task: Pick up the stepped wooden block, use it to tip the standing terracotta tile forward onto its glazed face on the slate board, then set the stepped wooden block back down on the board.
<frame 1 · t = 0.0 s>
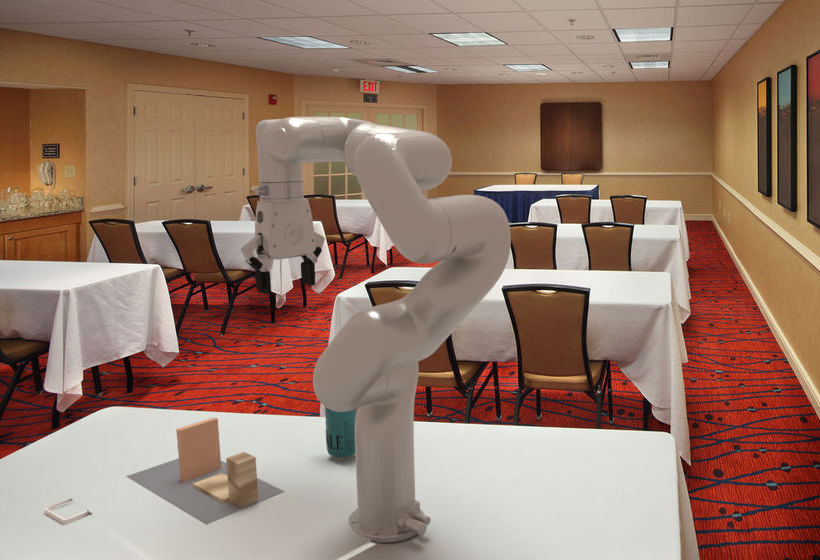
hand: (286, 288, 140), 37 cm above the table, tool pointing down, fingers open, 9 cm apart
stepped wooden block: (243, 500, 138), point 1 cm above the table, touching slate board
slate board: (203, 488, 145), on the table
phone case: (95, 506, 141), on the table
beverage bottle: (342, 459, 157), on the table
tile: (201, 474, 149), point 1 cm above the table, touching slate board
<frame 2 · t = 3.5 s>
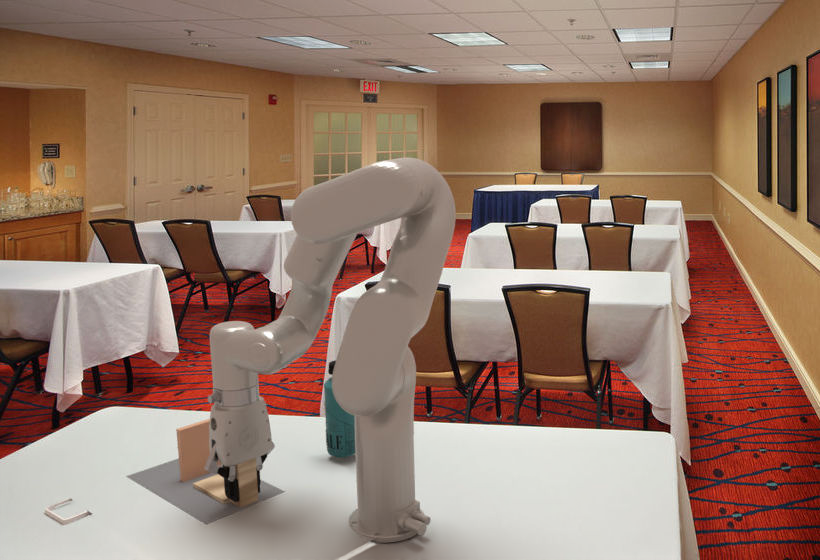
hand: (243, 494, 138), 2 cm above the table, tool pointing down, fingers closed on stepped wooden block, 3 cm apart
stepped wooden block: (243, 500, 138), point 1 cm above the table, touching gripper, slate board
everything else where it was.
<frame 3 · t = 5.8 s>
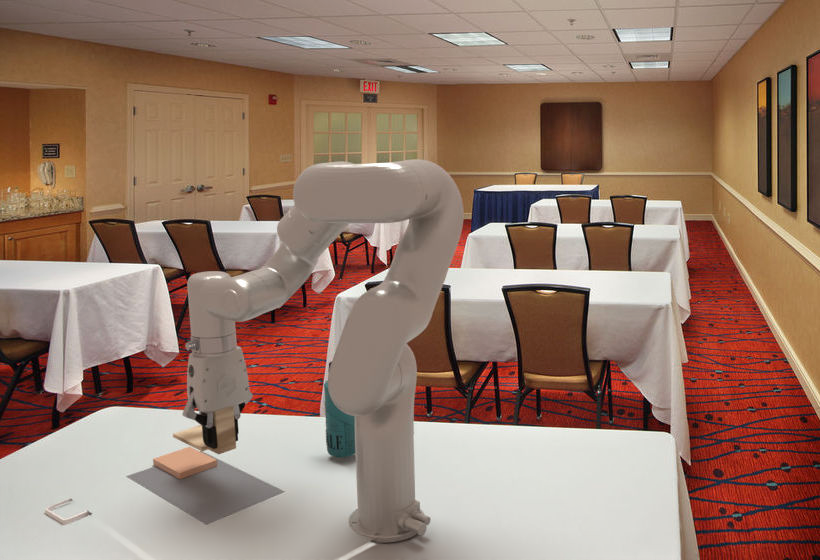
hand: (221, 442, 140), 10 cm above the table, tool pointing down, fingers closed on stepped wooden block, 3 cm apart
stepped wooden block: (221, 448, 141), point 9 cm above the table, touching gripper
tile: (198, 469, 150), point 2 cm above the table, tilted 90°, touching slate board
everything else where it was.
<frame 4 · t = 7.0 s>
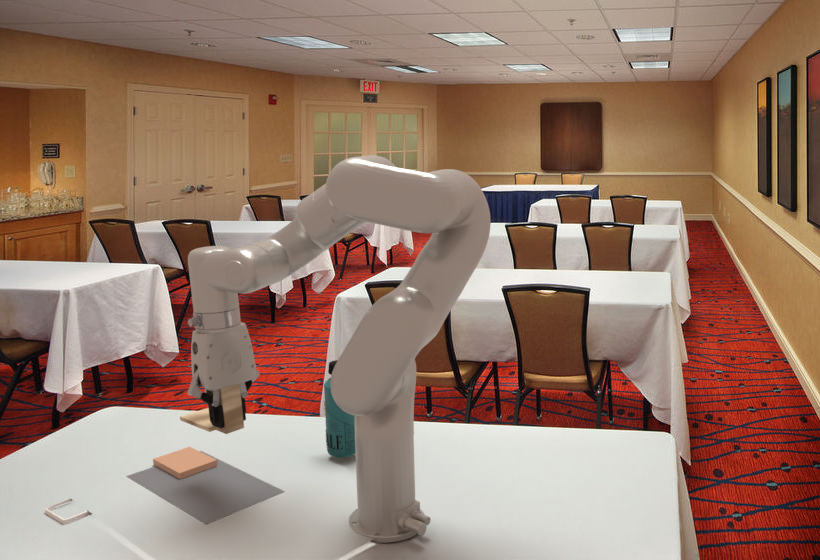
hand: (228, 421, 137), 15 cm above the table, tool pointing down, fingers closed on stepped wooden block, 3 cm apart
stepped wooden block: (229, 428, 137), point 14 cm above the table, touching gripper
everything else where it was.
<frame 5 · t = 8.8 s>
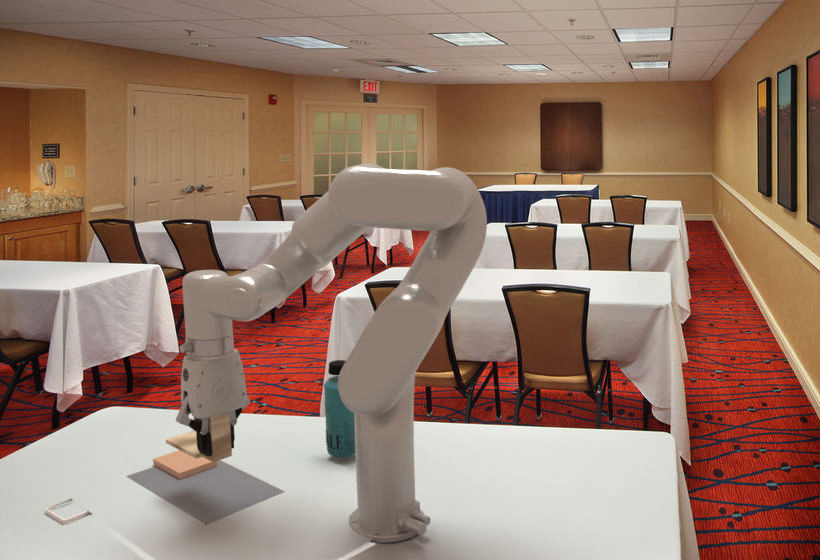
hand: (216, 449, 134), 12 cm above the table, tool pointing down, fingers closed on stepped wooden block, 3 cm apart
stepped wooden block: (216, 456, 134), point 10 cm above the table, touching gripper
everything else where it was.
when the fingers open (3 cm above the table, at t = 10.6 s): stepped wooden block stays where it is, resting on slate board.
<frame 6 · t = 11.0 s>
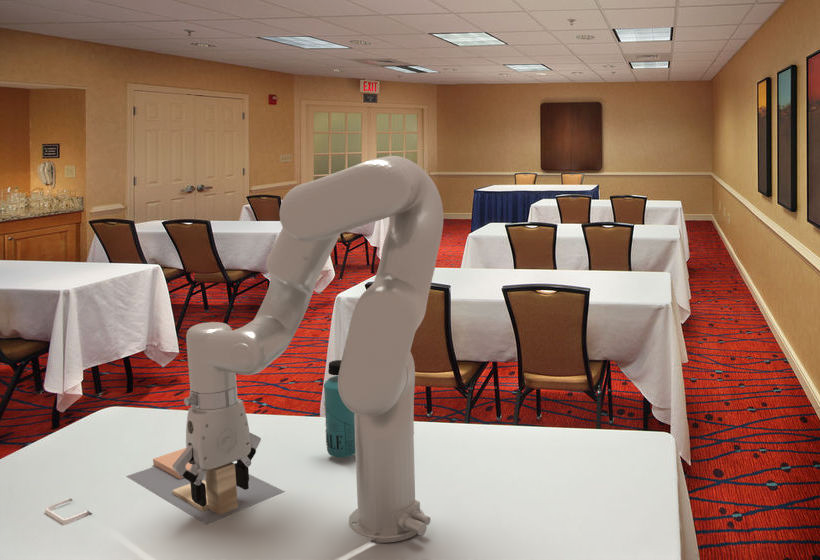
hand: (221, 494, 135), 3 cm above the table, tool pointing down, fingers open, 7 cm apart
stepped wooden block: (222, 508, 135), point 1 cm above the table, touching slate board
everything else where it was.
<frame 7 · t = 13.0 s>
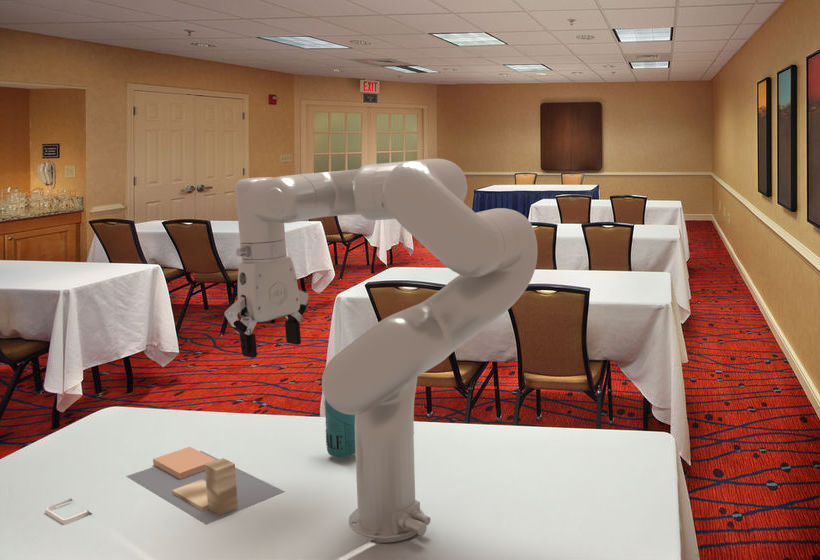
hand: (272, 349, 136), 27 cm above the table, tool pointing down, fingers open, 9 cm apart
nothing on the table moved.
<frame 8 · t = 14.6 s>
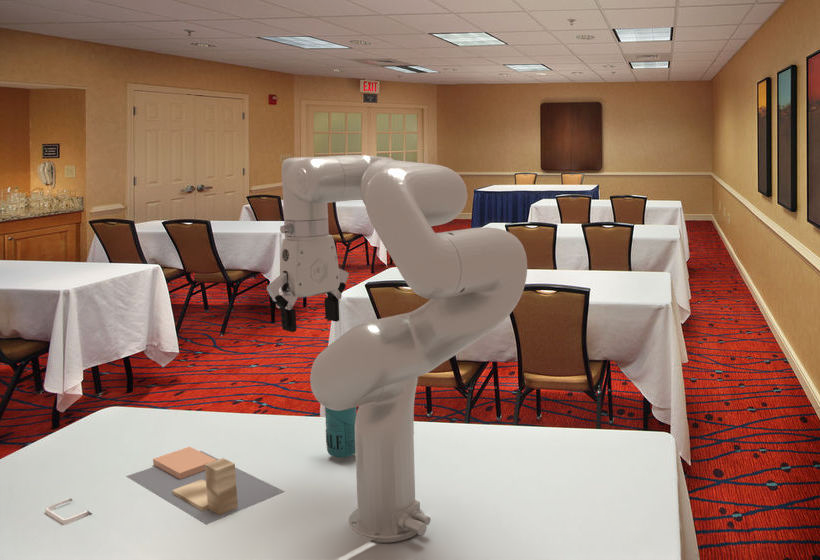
hand: (311, 325, 140), 30 cm above the table, tool pointing down, fingers open, 9 cm apart
nothing on the table moved.
at the end: tile tilted 90°; the gripper is holding nothing; stepped wooden block point 1.0 cm above the table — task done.
